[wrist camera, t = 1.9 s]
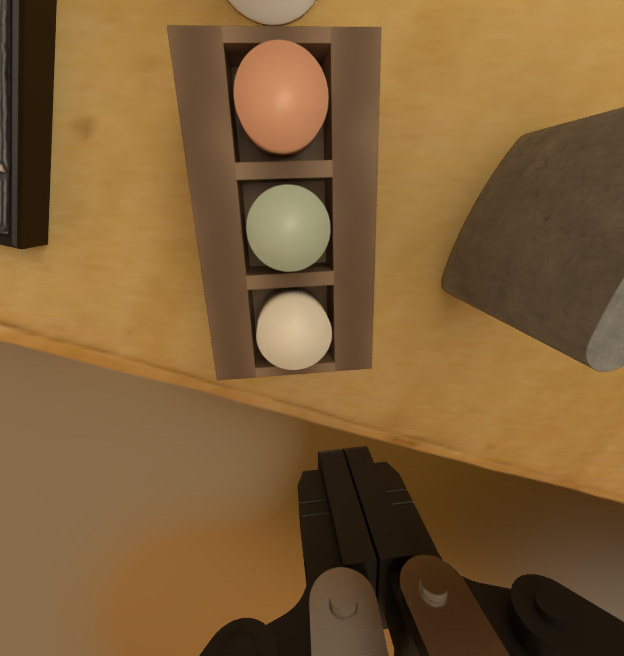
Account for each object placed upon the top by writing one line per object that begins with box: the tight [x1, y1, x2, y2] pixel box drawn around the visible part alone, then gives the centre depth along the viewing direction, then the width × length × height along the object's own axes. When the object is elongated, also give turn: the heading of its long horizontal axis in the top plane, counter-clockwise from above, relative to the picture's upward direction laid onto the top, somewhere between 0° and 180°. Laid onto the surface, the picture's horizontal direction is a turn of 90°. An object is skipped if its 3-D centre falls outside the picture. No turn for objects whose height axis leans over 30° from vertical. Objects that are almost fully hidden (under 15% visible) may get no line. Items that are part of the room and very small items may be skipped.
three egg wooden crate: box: [167, 25, 381, 380], centre depth 26 cm, size 11×20×11 cm, turn 2°
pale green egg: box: [246, 184, 330, 272], centre depth 22 cm, size 5×5×4 cm
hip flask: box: [442, 107, 624, 372], centre depth 24 cm, size 16×4×20 cm, turn 156°
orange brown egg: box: [234, 40, 329, 158], centre depth 19 cm, size 5×5×4 cm
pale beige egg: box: [256, 287, 332, 370], centre depth 24 cm, size 5×5×4 cm
